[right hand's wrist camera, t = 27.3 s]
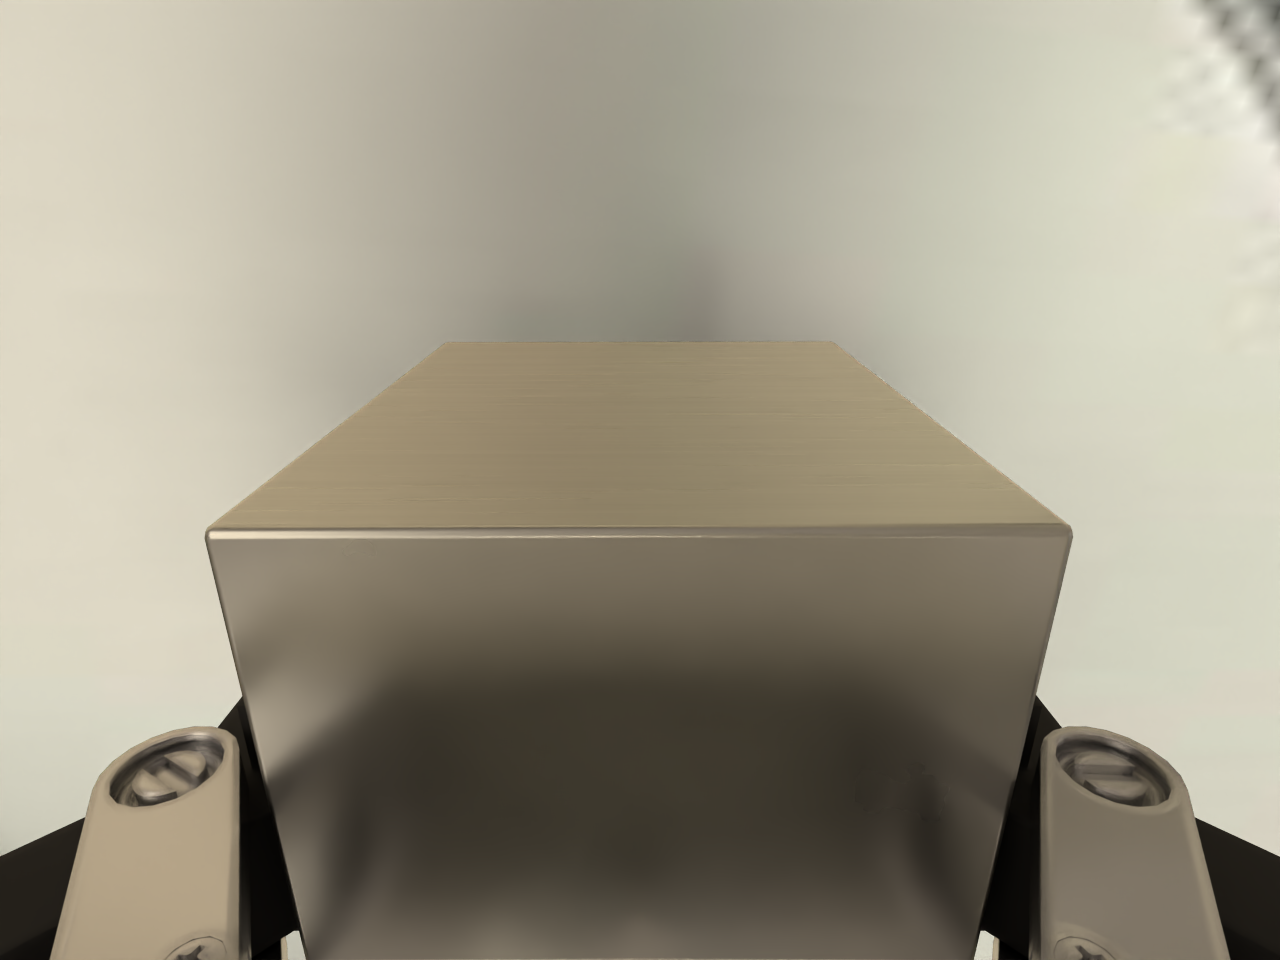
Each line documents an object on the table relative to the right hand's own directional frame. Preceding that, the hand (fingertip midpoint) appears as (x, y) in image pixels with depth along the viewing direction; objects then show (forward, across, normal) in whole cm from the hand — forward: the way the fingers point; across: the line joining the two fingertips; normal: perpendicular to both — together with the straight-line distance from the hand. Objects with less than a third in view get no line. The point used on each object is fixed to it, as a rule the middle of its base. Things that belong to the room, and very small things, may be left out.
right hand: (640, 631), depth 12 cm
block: (+3, 0, 0) cm, 3 cm away
